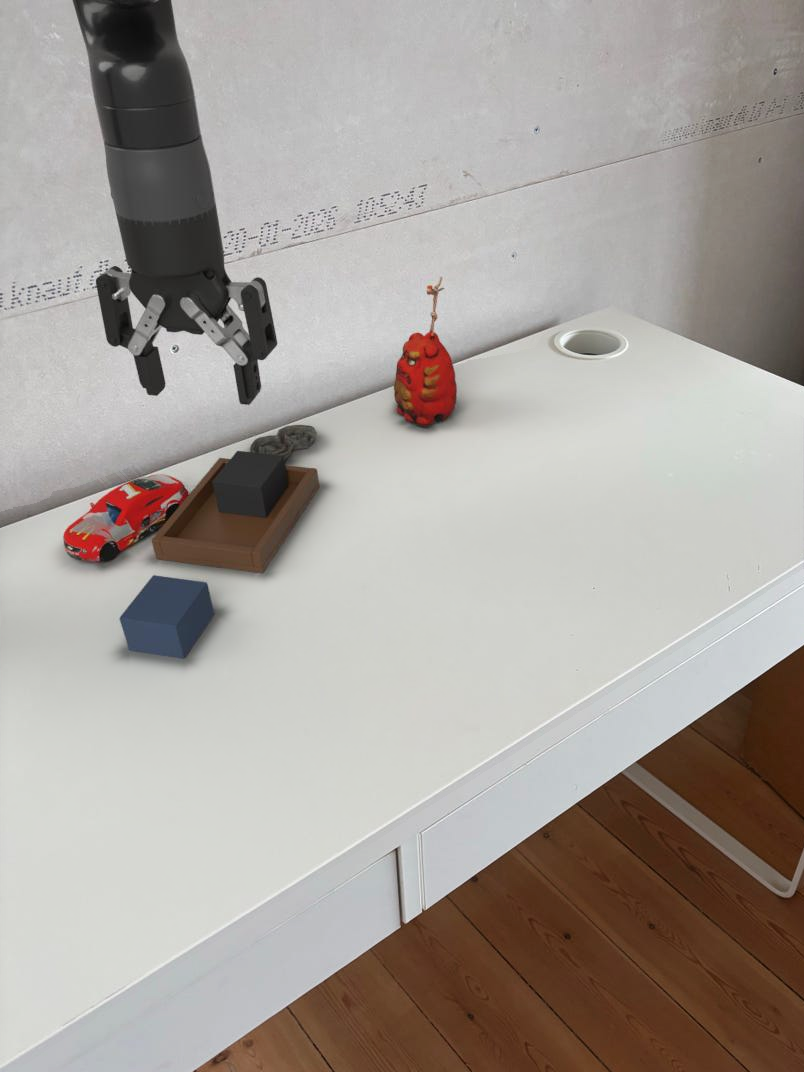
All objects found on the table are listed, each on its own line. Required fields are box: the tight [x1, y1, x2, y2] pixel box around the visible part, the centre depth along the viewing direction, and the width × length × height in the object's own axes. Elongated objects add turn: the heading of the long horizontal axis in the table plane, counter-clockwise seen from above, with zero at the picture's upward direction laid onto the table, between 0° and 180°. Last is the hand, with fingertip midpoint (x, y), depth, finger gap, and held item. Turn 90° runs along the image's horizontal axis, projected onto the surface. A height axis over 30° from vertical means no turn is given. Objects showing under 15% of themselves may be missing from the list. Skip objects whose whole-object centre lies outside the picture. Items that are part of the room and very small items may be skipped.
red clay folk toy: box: [393, 276, 458, 428], centre depth 110 cm, size 8×7×15 cm
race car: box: [62, 473, 190, 562], centre depth 96 cm, size 13×5×4 cm, turn 143°
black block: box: [212, 450, 289, 518], centre depth 100 cm, size 5×6×4 cm
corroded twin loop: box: [249, 424, 317, 460], centre depth 109 cm, size 5×8×1 cm, turn 136°
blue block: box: [118, 574, 215, 659], centre depth 85 cm, size 5×6×4 cm
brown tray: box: [151, 457, 320, 574], centre depth 98 cm, size 11×15×2 cm
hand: (202, 396), depth 88 cm, fingers open, 8 cm apart
